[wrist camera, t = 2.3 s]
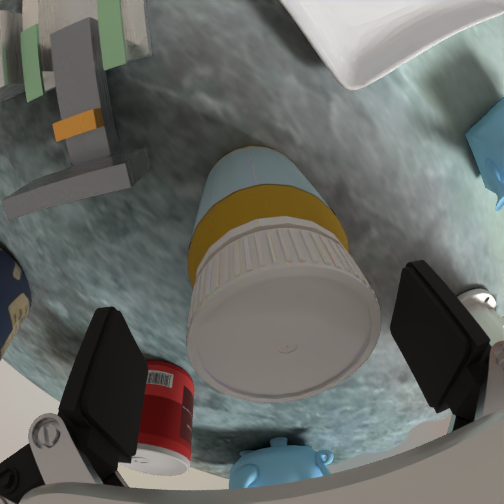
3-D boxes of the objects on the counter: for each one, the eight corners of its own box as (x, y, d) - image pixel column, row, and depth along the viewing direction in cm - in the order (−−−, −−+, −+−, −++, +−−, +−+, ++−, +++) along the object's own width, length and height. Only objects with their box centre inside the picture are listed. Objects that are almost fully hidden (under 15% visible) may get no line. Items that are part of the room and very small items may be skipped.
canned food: (114, 368, 31) (93, 450, 21) (166, 349, 29) (152, 444, 20) (156, 402, 34) (146, 478, 25) (207, 387, 33) (205, 472, 23)
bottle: (220, 244, 24) (216, 420, 11) (192, 159, 21) (130, 286, 7) (308, 222, 23) (387, 380, 10) (290, 133, 20) (397, 219, 7)
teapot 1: (314, 462, 49) (325, 522, 37) (214, 466, 47) (216, 530, 34) (342, 426, 41) (362, 502, 29) (217, 431, 39) (219, 517, 27)
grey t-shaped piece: (138, 9, 14) (99, -21, 8) (160, 157, 19) (131, 187, 13) (33, 51, 14) (-25, 49, 8) (58, 183, 19) (8, 220, 13)
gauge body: (142, -54, 12) (121, -84, 7) (154, 65, 17) (130, 57, 12) (3, 11, 12) (-36, 6, 7) (11, 118, 17) (-30, 131, 12)
